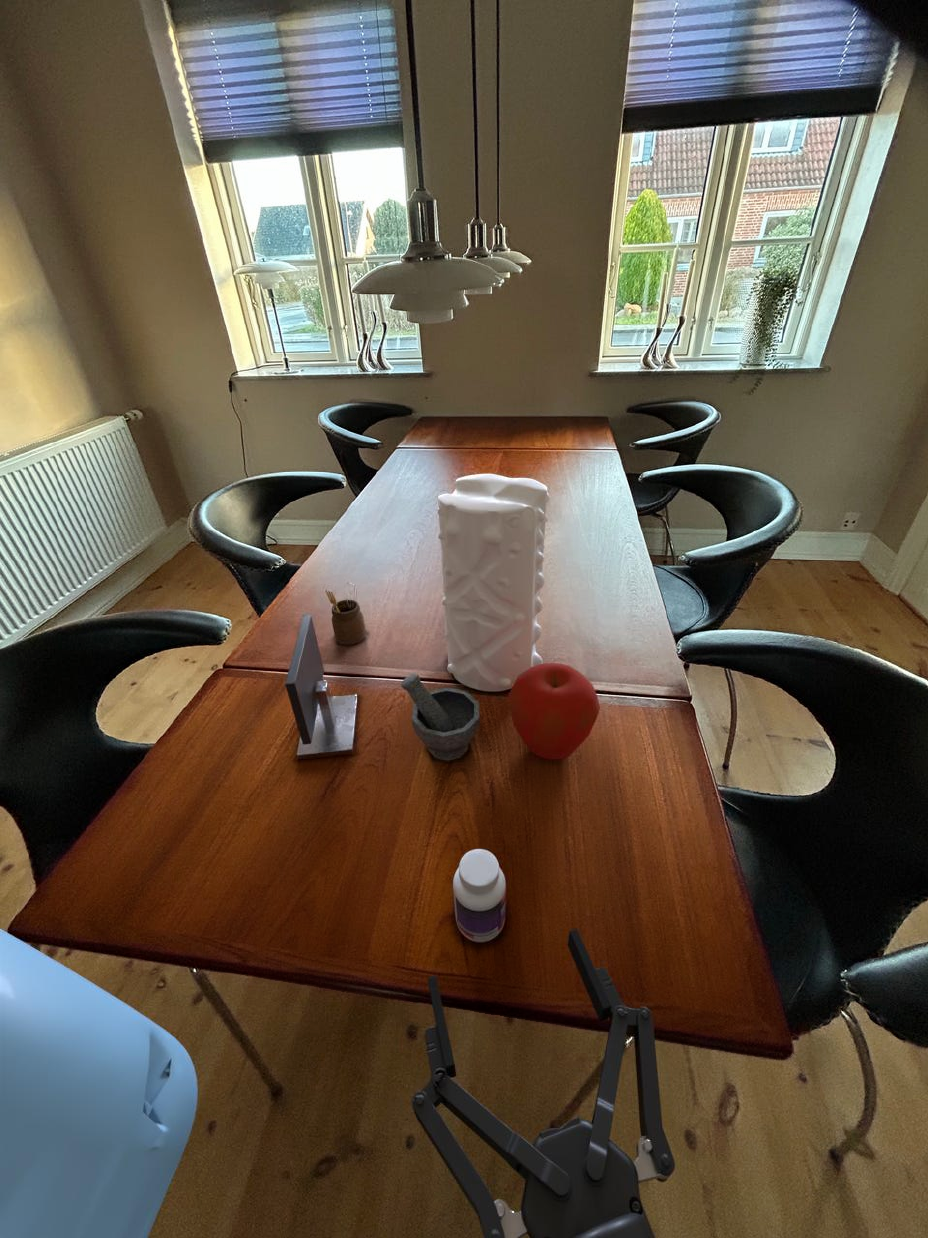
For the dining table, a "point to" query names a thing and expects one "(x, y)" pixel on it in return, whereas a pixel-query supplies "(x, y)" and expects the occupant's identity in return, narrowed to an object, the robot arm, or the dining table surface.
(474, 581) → the vase
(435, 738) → the mortar and pestle
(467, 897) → the pill bottle
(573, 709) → the apple
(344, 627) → the utensil holder
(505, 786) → the dining table surface
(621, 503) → the dining table surface
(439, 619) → the dining table surface
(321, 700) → the monitor stand
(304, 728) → the monitor screen
